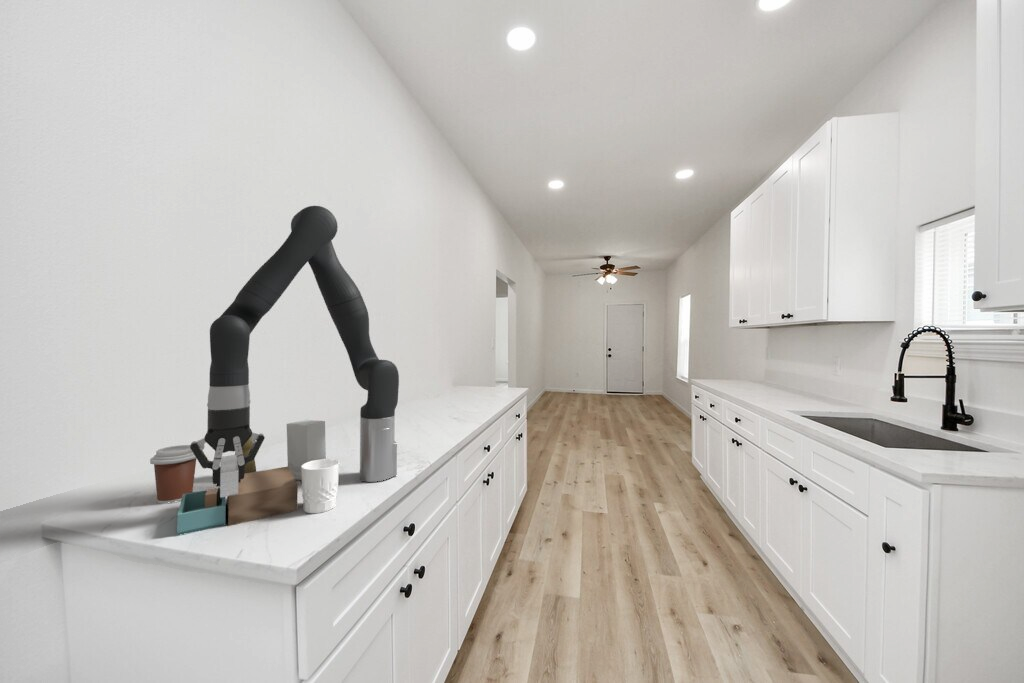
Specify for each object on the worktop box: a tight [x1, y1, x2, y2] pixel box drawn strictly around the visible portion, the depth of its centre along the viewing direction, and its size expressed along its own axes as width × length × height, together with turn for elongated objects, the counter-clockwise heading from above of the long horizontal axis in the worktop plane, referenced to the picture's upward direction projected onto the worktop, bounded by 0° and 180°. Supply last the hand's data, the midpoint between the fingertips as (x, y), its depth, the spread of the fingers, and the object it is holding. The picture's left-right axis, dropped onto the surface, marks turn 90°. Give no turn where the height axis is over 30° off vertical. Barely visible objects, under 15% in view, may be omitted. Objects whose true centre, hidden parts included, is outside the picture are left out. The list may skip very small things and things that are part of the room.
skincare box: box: [286, 418, 327, 481], centre depth 108 cm, size 8×7×16 cm
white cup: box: [301, 458, 340, 514], centre depth 88 cm, size 8×8×10 cm
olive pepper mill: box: [234, 437, 257, 474], centre depth 107 cm, size 6×6×11 cm
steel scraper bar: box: [219, 454, 239, 498], centre depth 84 cm, size 3×14×5 cm, turn 37°
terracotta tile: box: [205, 487, 220, 508], centre depth 85 cm, size 4×4×2 cm
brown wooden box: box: [226, 465, 299, 527], centre depth 88 cm, size 12×15×6 cm
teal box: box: [176, 487, 227, 536], centre depth 82 cm, size 8×13×4 cm, turn 38°
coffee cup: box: [149, 444, 197, 504], centre depth 92 cm, size 9×9×12 cm
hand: (228, 483), depth 84 cm, fingers closed on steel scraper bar, 3 cm apart
